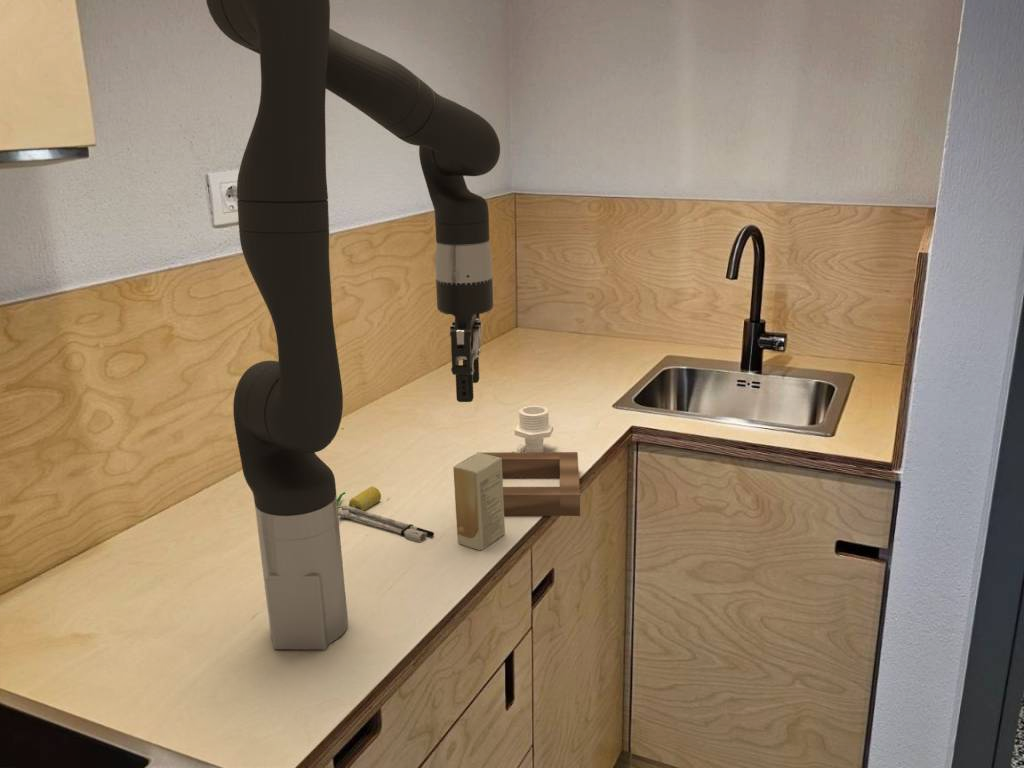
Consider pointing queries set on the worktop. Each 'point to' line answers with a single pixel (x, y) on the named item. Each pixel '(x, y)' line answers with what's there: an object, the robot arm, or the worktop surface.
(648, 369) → the worktop surface
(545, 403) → the worktop surface
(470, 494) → the skincare box
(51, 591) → the worktop surface
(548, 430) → the pipe fitting
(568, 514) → the brown square open frame
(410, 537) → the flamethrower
